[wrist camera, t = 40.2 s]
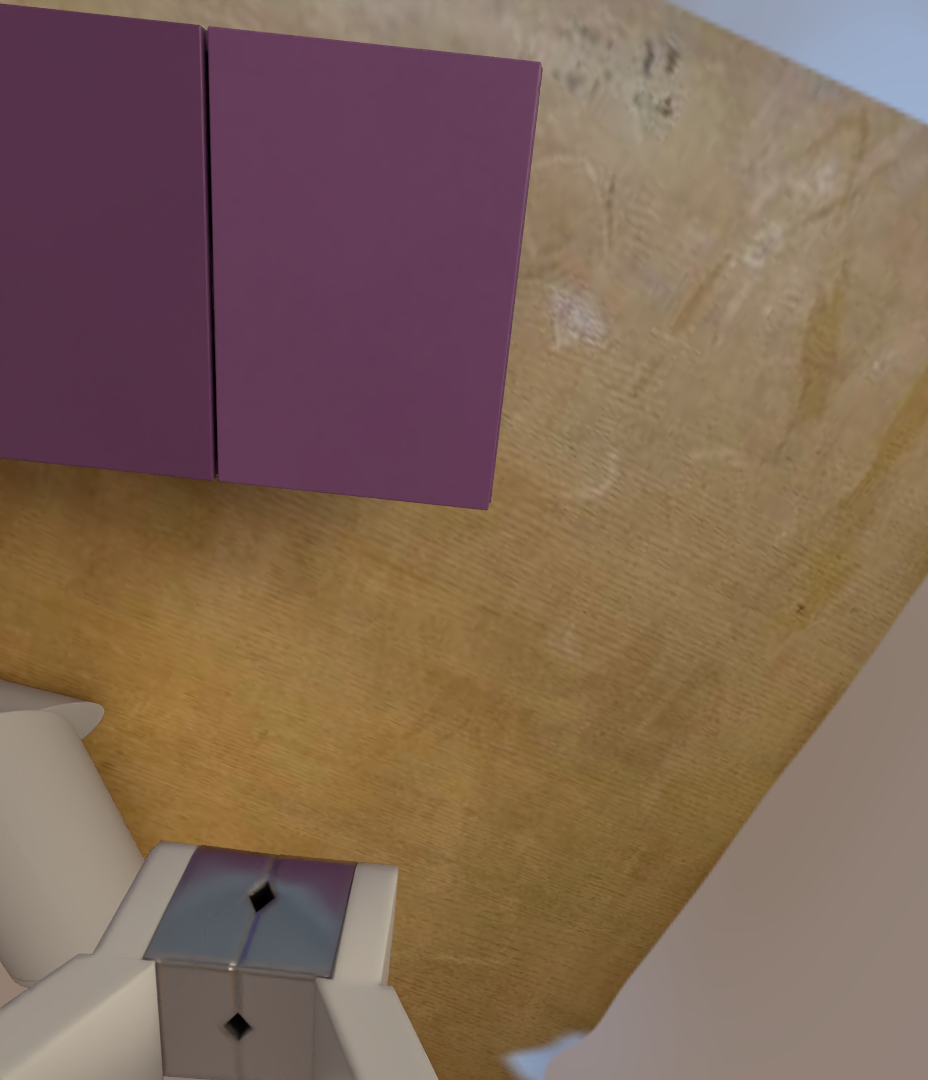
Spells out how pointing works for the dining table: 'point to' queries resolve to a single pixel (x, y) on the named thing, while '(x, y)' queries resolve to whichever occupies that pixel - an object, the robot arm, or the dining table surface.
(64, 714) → the elbow connector
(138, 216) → the carton
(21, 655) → the dining table surface
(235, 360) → the flap
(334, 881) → the robot arm
